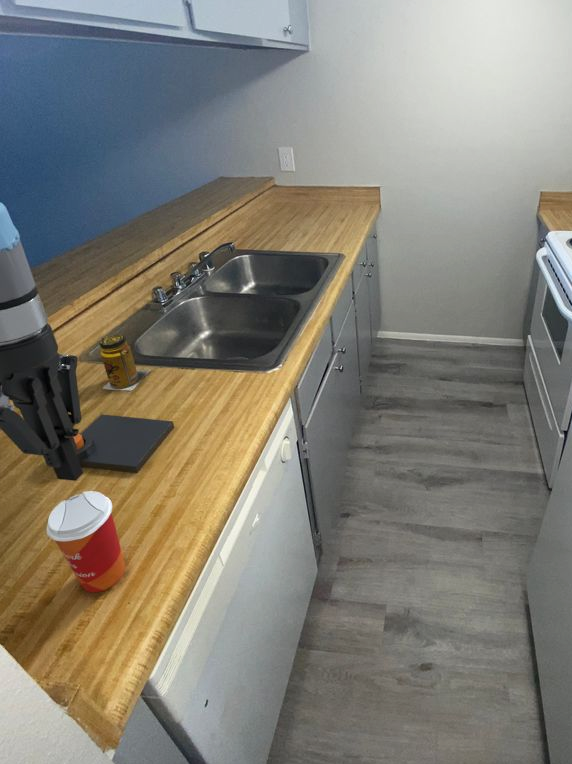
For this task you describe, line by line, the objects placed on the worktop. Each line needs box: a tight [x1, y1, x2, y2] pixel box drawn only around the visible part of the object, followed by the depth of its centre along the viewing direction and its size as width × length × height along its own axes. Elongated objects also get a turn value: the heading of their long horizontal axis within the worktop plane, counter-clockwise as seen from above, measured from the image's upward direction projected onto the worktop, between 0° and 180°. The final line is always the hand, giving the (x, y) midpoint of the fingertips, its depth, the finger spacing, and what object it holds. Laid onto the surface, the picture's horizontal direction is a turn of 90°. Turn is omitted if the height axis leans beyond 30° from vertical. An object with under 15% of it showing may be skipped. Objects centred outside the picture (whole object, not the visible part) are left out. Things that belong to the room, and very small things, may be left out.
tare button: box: [73, 432, 84, 450], centre depth 90 cm, size 4×4×2 cm
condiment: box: [99, 334, 152, 391], centre depth 112 cm, size 7×8×12 cm
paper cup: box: [46, 490, 126, 594], centre depth 68 cm, size 8×8×14 cm
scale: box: [75, 413, 175, 474], centre depth 94 cm, size 17×14×4 cm
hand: (70, 475), depth 67 cm, fingers closed
